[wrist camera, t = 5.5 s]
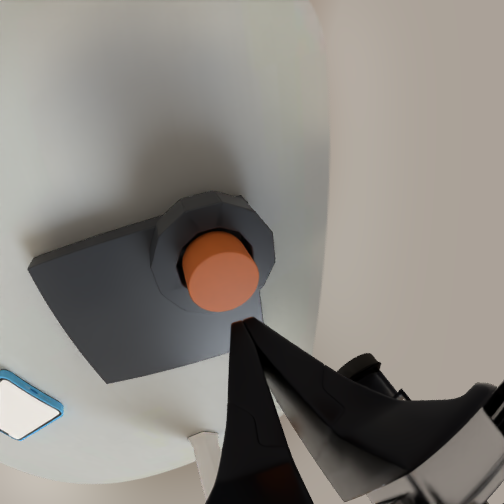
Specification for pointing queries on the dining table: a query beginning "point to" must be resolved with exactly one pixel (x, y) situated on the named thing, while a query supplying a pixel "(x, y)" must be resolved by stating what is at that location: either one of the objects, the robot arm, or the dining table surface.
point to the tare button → (219, 271)
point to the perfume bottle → (206, 458)
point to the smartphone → (24, 407)
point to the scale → (149, 288)
